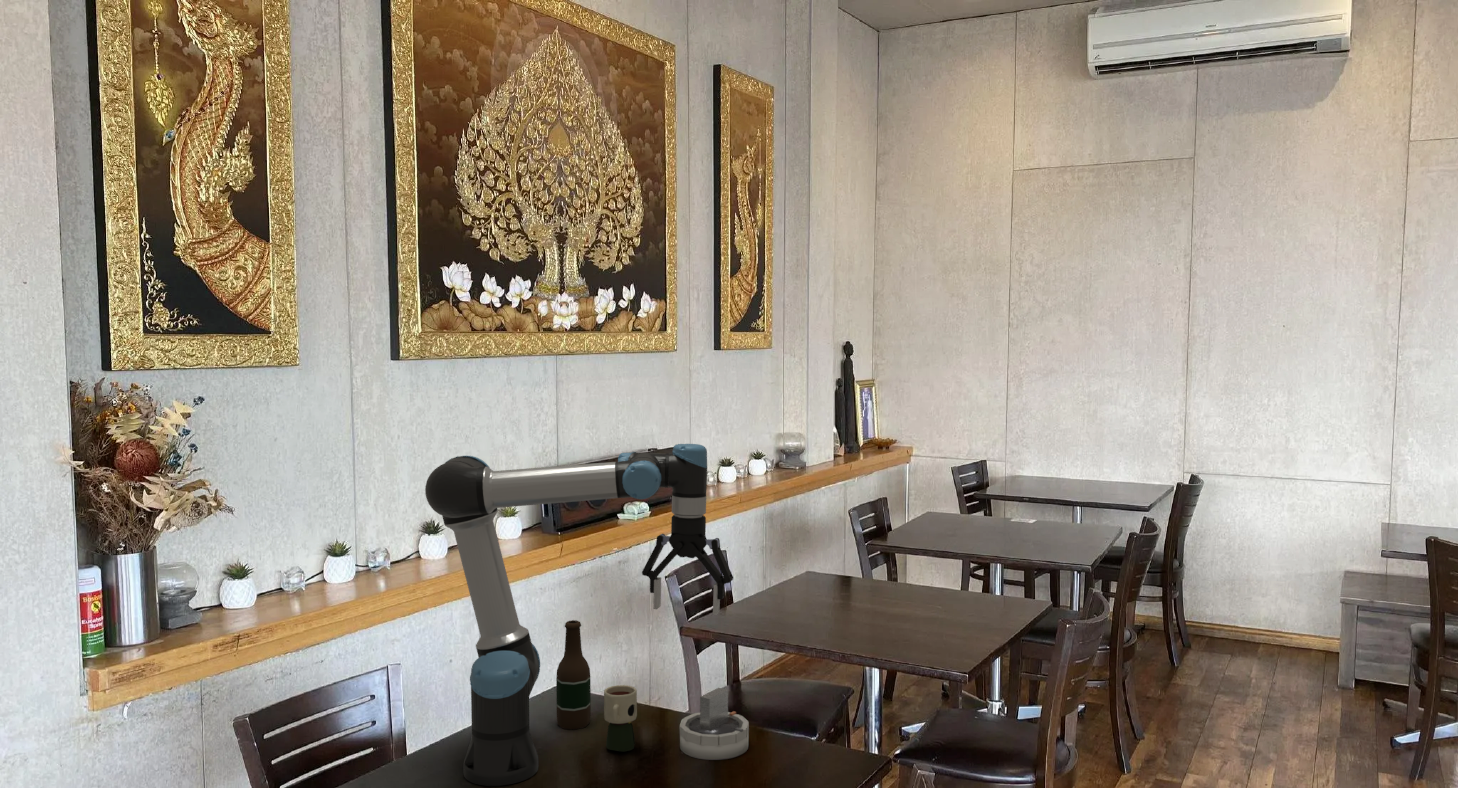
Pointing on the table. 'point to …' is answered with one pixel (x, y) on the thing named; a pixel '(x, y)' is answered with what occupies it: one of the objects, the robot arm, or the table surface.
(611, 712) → the character mug
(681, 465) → the robot arm
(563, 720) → the beer bottle
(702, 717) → the dial
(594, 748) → the table surface
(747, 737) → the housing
